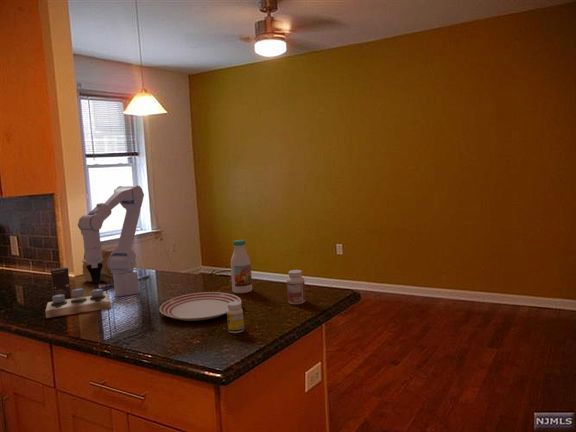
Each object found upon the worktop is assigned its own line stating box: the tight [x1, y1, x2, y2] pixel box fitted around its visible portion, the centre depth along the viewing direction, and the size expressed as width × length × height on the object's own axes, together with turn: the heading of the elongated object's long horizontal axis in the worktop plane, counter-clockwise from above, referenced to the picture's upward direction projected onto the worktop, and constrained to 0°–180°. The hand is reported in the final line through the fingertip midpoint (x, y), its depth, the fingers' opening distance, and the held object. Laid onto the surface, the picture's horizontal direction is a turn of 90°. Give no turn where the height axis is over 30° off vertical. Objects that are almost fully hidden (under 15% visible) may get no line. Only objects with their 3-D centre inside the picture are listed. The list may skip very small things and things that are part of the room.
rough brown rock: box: [82, 249, 114, 285], centre depth 213 cm, size 23×17×15 cm
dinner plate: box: [158, 291, 242, 322], centre depth 161 cm, size 28×27×3 cm
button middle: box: [71, 287, 85, 298], centre depth 173 cm, size 4×4×2 cm
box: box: [50, 266, 72, 299], centre depth 188 cm, size 6×4×12 cm
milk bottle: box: [230, 239, 253, 294], centre depth 183 cm, size 8×8×20 cm
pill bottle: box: [286, 269, 306, 305], centre depth 165 cm, size 6×6×11 cm
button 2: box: [90, 288, 104, 297], centre depth 175 cm, size 4×4×2 cm
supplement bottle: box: [226, 301, 245, 334], centre depth 140 cm, size 5×5×8 cm
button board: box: [44, 293, 112, 319], centre depth 172 cm, size 21×12×3 cm, turn 113°
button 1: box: [52, 294, 66, 303], centre depth 170 cm, size 4×4×2 cm
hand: (96, 283), depth 175 cm, fingers closed
